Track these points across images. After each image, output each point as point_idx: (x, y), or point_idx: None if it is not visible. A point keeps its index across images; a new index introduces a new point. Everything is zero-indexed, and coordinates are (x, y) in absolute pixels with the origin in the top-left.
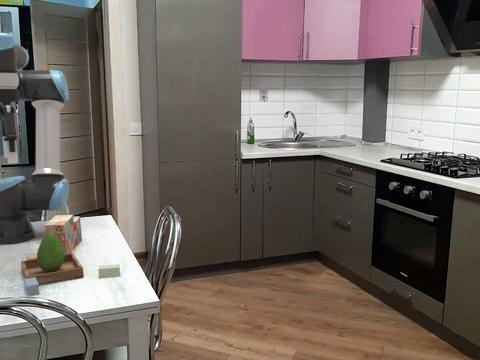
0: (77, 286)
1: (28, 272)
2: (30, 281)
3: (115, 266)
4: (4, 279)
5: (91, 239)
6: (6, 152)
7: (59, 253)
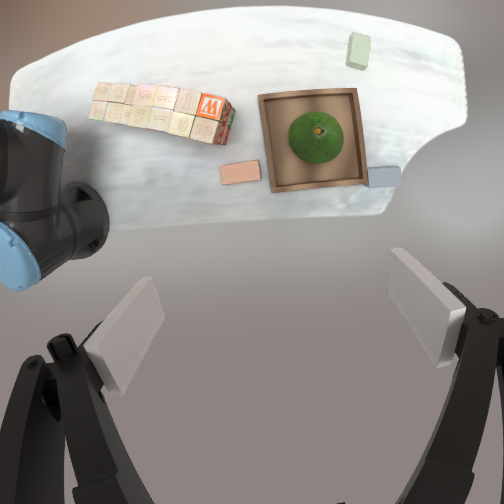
0: (387, 108)
1: (299, 178)
2: (383, 178)
3: (363, 39)
4: (307, 217)
5: (127, 71)
6: (152, 323)
7: (336, 120)
